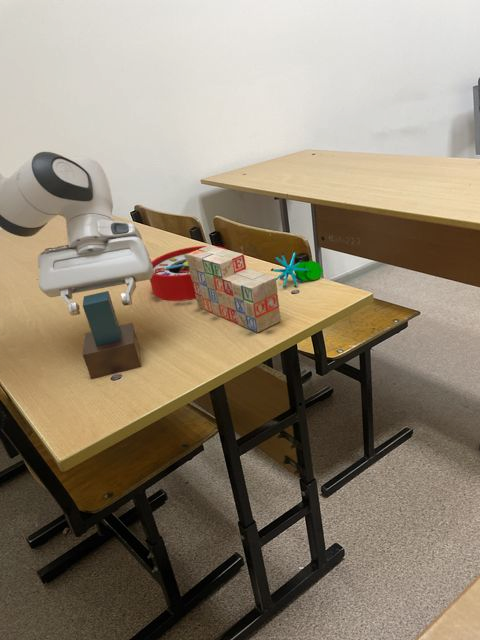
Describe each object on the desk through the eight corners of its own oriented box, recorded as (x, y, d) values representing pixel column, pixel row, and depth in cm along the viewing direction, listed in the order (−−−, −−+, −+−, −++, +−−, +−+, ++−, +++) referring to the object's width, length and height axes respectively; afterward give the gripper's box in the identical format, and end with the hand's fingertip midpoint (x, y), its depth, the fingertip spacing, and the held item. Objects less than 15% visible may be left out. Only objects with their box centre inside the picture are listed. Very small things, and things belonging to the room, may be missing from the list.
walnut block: (91, 379, 94) (82, 355, 92) (92, 356, 102) (84, 333, 99) (141, 366, 95) (134, 342, 93) (139, 345, 103) (132, 322, 101)
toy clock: (235, 265, 117) (145, 283, 116) (239, 289, 120) (152, 307, 119) (225, 240, 135) (147, 255, 133) (229, 262, 138) (153, 277, 136)
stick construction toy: (275, 284, 114) (273, 249, 115) (265, 293, 121) (263, 260, 122) (326, 286, 118) (323, 252, 119) (313, 294, 124) (311, 262, 126)
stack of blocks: (282, 321, 103) (274, 261, 97) (257, 334, 100) (247, 273, 94) (220, 296, 119) (209, 243, 113) (196, 306, 115) (185, 253, 110)
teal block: (96, 346, 94) (82, 305, 90) (96, 335, 98) (83, 296, 94) (120, 340, 95) (108, 299, 91) (120, 330, 98) (108, 290, 95)
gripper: (29, 242, 95) (35, 313, 91) (142, 222, 96) (153, 292, 92) (44, 258, 101) (49, 325, 97) (150, 239, 102) (160, 305, 98)
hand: (101, 309), depth 94 cm, fingers open, 8 cm apart
